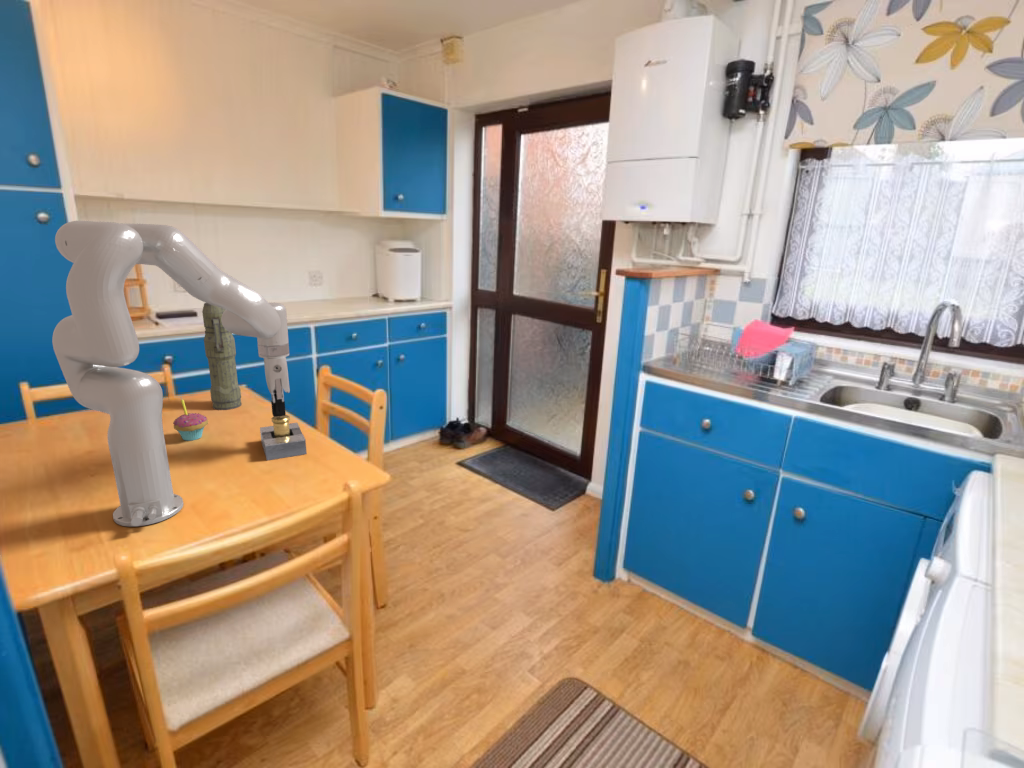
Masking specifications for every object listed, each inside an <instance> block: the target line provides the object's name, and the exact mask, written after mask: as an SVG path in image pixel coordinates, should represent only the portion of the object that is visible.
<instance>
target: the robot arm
mask: <svg viewBox="0 0 1024 768" xmlns="http://www.w3.org/2000/svg"><path fill="white" fill-rule="evenodd" d="M54 242H55V246H56V247H55V248H56V249H57V251H58V252H59V253H60V255H61V256H62V257H64V258H65V259H66V260H67V261H69V262H71V263H73V264H72V266H71V267H70V270H69V272H68V274H67V275H68V276H67V278H66V285H65V290H66V293H65V294H66V298H67V300H68V305H69V308H70V311H71V315H68V316H66V317H64V318H63V319H61V320H60V321H59V322H58V323H57V324H56V326H55V328H54V329H53V333H52V339H51V340H52V347H53V348H52V349H53V352H54V354H55V357H56V359H57V362H58V364H59V367H60V370H61V371H62V375H63V378H64V379H65V381H66V384H67V387H68V389H69V391H70V393H71V395H72V397H73V398H74V400H75V401H76V402H77V403H78V404H79V405H81V406H82V407H84V408H86V409H90V410H93V411H96V412H101V413H104V414H107V415H109V418H110V421H109V426H108V428H107V445H108V449H109V454H110V459H111V465H112V469H113V475H114V478H115V486H116V489H117V495H118V499H119V506H118V507H117V508H116V509H115V510H114V511H113V512H112V519H113V521H114V522H115V523H116V524H117V525H118V526H122V527H143V526H149V525H153V524H157V523H160V522H162V521H166V520H167V519H169V518H172V517H173V516H175V515H177V513H179V512H180V511H181V510H182V509H183V507H184V499H183V497H181V496H180V495H179V494H176V493H174V489H173V484H172V477H171V471H170V470H171V469H170V464H169V458H168V452H167V446H166V440H165V435H164V427H163V404H164V392H163V389H162V387H161V385H160V382H158V380H157V379H156V378H154V377H153V376H152V375H150V374H148V373H145V372H143V371H141V370H135V369H131V368H125V367H126V366H128V365H131V363H132V364H133V363H134V362H135V361H136V359H137V358H138V357H139V353H140V342H139V339H138V335H137V332H136V329H135V327H134V323H133V321H132V320H133V319H132V316H131V314H130V311H129V309H128V305H127V301H126V296H125V283H126V279H127V278H128V276H129V274H130V272H131V271H132V269H133V268H134V267H135V266H136V265H147V266H155V267H158V268H159V269H160V270H161V271H162V272H164V273H165V274H166V275H168V277H170V278H171V279H172V280H173V281H174V282H176V283H177V284H178V285H179V286H180V287H181V288H182V289H184V291H186V293H188V294H189V295H190V296H192V297H193V298H194V299H197V300H199V301H201V302H203V303H208V304H211V305H214V306H217V307H220V308H223V309H225V311H224V312H223V314H222V318H221V321H222V325H223V327H224V328H225V329H226V330H227V331H229V332H230V333H232V335H235V336H236V335H238V336H243V337H252V338H256V339H257V350H258V351H257V353H258V357H259V358H261V359H262V358H263V362H264V363H263V365H264V374H265V381H266V385H267V389H268V391H269V393H270V395H271V396H270V397H271V401H270V402H271V413H272V417H277V416H285V415H287V414H286V401H285V395H284V392H285V393H287V394H289V393H291V392H290V391H291V389H290V381H289V380H290V379H289V371H288V362H287V357H289V356H290V346H289V345H290V344H289V331H288V319H287V317H288V316H287V308H286V306H285V305H284V304H283V303H280V302H268V300H267V299H266V298H265V297H264V296H262V295H261V294H260V293H259V292H258V291H256V290H254V289H253V288H251V287H250V286H248V285H246V284H244V283H243V282H241V281H239V280H238V279H237V278H235V277H233V276H231V275H229V274H228V273H227V272H224V271H223V270H221V268H219V266H217V264H216V263H214V262H213V261H212V259H210V258H209V257H208V255H206V254H205V252H203V251H202V250H201V249H200V248H199V247H198V246H197V245H196V243H194V242H193V240H191V239H190V238H189V237H188V236H187V235H186V234H185V233H184V232H182V231H181V230H180V229H179V228H177V227H174V226H172V225H168V224H167V225H166V224H156V223H155V224H152V223H119V222H114V221H113V222H112V221H96V220H95V221H93V220H90V221H89V220H72V221H68V222H66V223H64V224H63V225H61V226H60V227H59V229H57V232H56V234H55V237H54Z"/></svg>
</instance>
